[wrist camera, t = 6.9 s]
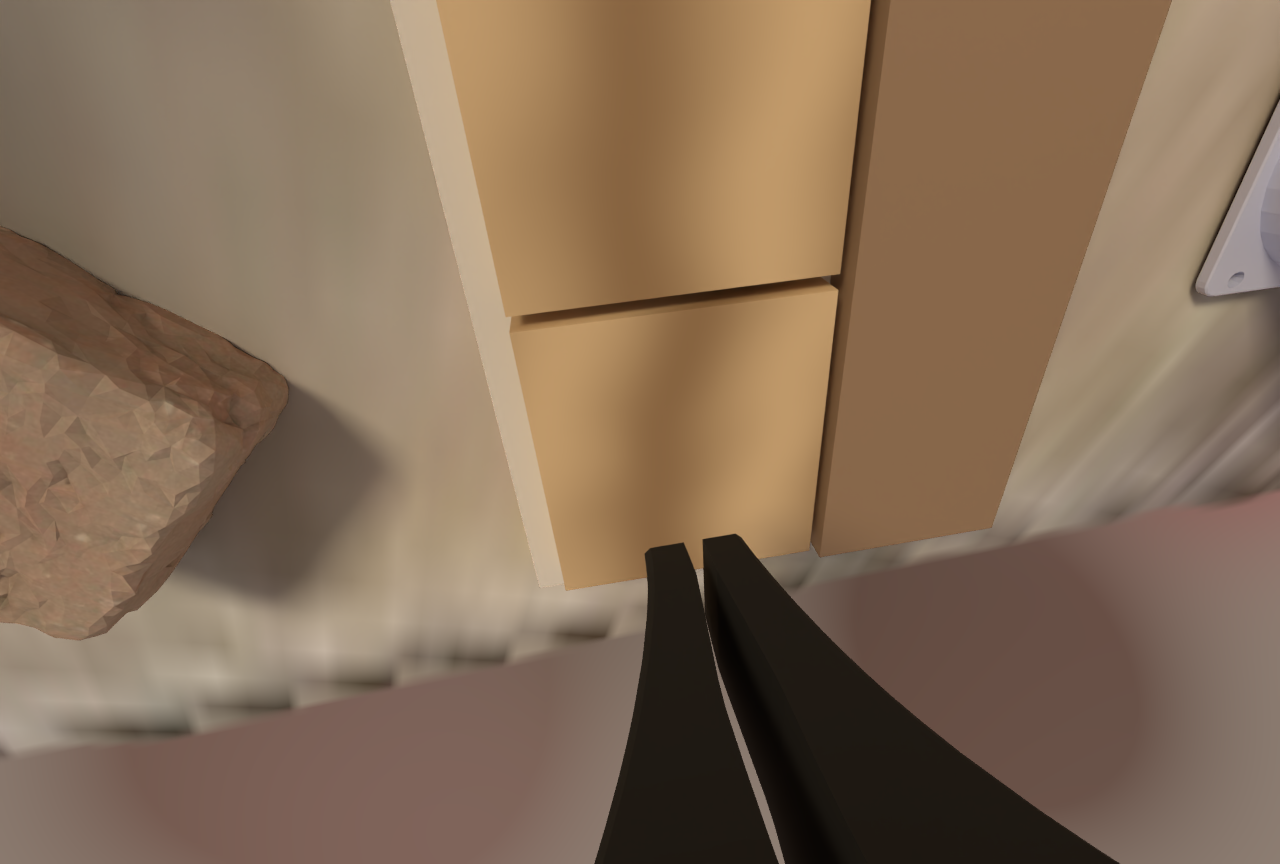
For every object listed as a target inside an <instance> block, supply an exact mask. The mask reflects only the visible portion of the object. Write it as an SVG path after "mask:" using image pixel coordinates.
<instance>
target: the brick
mask: <svg viewBox="0 0 1280 864" xmlns="http://www.w3.org/2000/svg"><path fill="white" fill-rule="evenodd" d="M287 402H288V386H287V383H286V380H285V378H284V376H282V375H281V374H279V373H277V372H276V371H274V370H273V369H272V368H271V367H270V366H269V365H268V364H267V363H265V362H263V361H261V360H258V359H256V358H254V357H252V356H250V355H248V354H246V353H244V352H243V351H241V350H239V349H237V348H235V347H234V346H233V345H232V344H231V343H230V342H228V341H227V340H225V339H224V338H222V337H221V336H219V335H217V334H215V333H213V332H211V331H209V330H206V329H204V328H202V327H200V326H198V325H196V324H194V323H192V322H190V321H188V320H186V319H184V318H182V317H180V316H178V315H176V314H173V313H171V312H169V311H167V310H165V309H163V308H160V307H158V306H155V305H153V304H151V303H148V302H145V301H141V300H138V299H134V298H131V297H128V296H122V295H117V293H116V291H115V290H114V288H112V287H111V286H109V285H107V284H105V283H104V282H102V281H100V280H98V279H96V278H95V277H94V276H92V275H91V274H89V273H88V272H86V271H85V270H83V269H81V268H80V267H78V266H77V265H75V264H74V263H72V262H71V261H69V260H67V259H66V258H64V257H62V256H61V255H59V254H57V253H56V252H54V251H52V250H50V249H49V248H47V247H45V246H43V245H42V244H39V243H37V242H35V241H32V240H29V239H27V238H24V237H21V236H19V235H17V234H16V233H14V232H13V231H12V230H10V229H7V228H4V227H2V226H0V622H3V623H17V624H22V625H26V626H30V627H34V628H36V629H38V630H40V631H42V632H44V633H46V634H48V635H50V636H53V637H55V638H64V639H72V640H83V639H87V638H91V637H95V636H98V635H101V634H104V633H107V632H108V631H109V630H110V629H111V628H112V627H113V626H114V625H115V624H116V623H117V622H118V621H119V620H120V619H121V618H122V617H123V616H124V615H125V614H126V613H128V612H131V611H135V610H138V609H139V608H140V607H141V606H142V605H143V604H144V603H145V602H146V601H147V600H148V599H149V598H150V597H152V596H153V595H154V594H155V593H156V592H157V591H158V590H159V588H160V587H161V586H162V585H163V583H164V582H165V581H166V580H167V578H168V577H169V576H170V575H171V573H172V572H173V570H174V569H175V567H176V566H177V565H178V563H179V562H180V560H181V558H182V557H183V555H184V554H185V552H186V551H187V549H188V548H189V546H190V545H191V543H192V541H193V540H194V538H195V537H196V535H197V533H198V532H199V531H200V530H202V529H203V527H204V526H205V525H206V524H207V522H208V521H209V520H210V518H211V517H212V515H213V514H212V512H213V507H214V506H215V505H216V503H217V502H218V500H219V499H220V497H221V496H222V494H223V493H224V491H225V490H226V488H227V487H228V486H229V484H230V482H231V480H232V479H233V477H234V475H235V474H236V472H237V471H238V469H239V468H240V466H241V465H242V464H244V463H245V459H246V458H247V457H248V456H249V455H250V453H251V452H252V450H253V449H254V447H255V445H256V444H258V443H259V442H261V441H262V440H263V439H264V438H265V437H266V436H267V435H268V434H269V433H270V432H271V431H272V430H273V429H274V426H275V424H276V422H277V419H278V416H279V415H280V413H281V412H282V410H283V409H284V407H285V406H286V404H287Z"/></svg>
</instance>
